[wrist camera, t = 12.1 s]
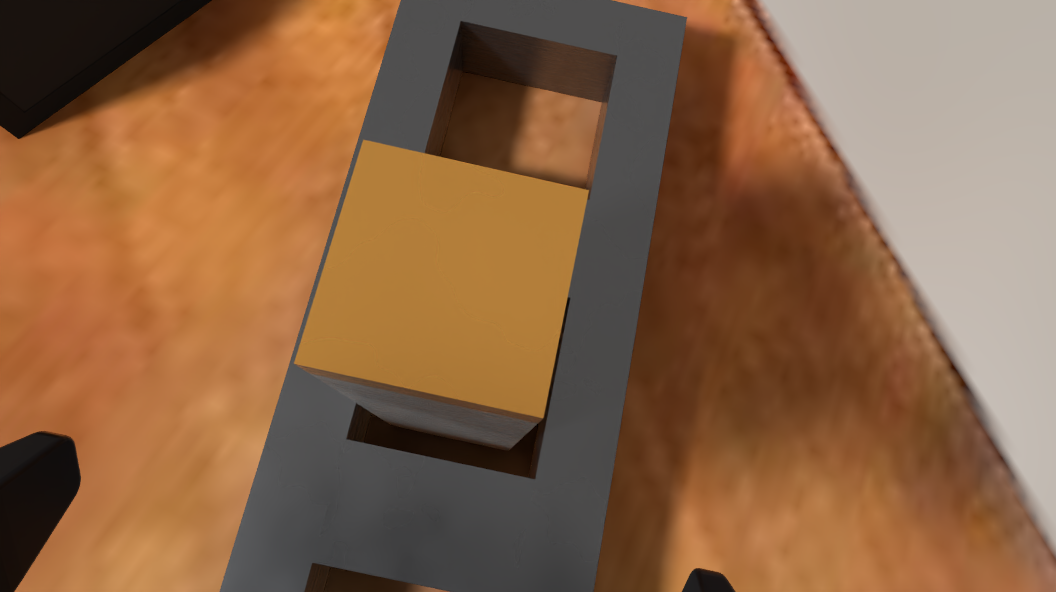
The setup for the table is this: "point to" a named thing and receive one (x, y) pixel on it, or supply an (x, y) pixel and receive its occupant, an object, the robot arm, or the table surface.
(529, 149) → the table surface
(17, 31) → the digital camera
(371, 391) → the grey square peg
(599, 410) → the gray slotted board
